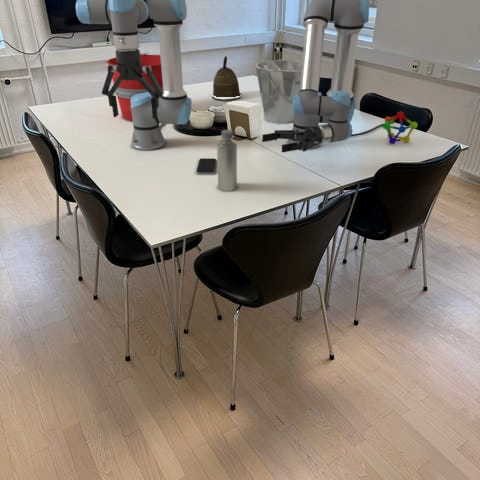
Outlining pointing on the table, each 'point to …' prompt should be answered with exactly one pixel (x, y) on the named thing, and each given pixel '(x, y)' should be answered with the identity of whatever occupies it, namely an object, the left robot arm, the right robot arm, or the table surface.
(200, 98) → the table surface
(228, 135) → the cap
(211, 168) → the smartphone
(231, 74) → the bell
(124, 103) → the bucket
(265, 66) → the bucket
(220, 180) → the bottle
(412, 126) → the educational toy
